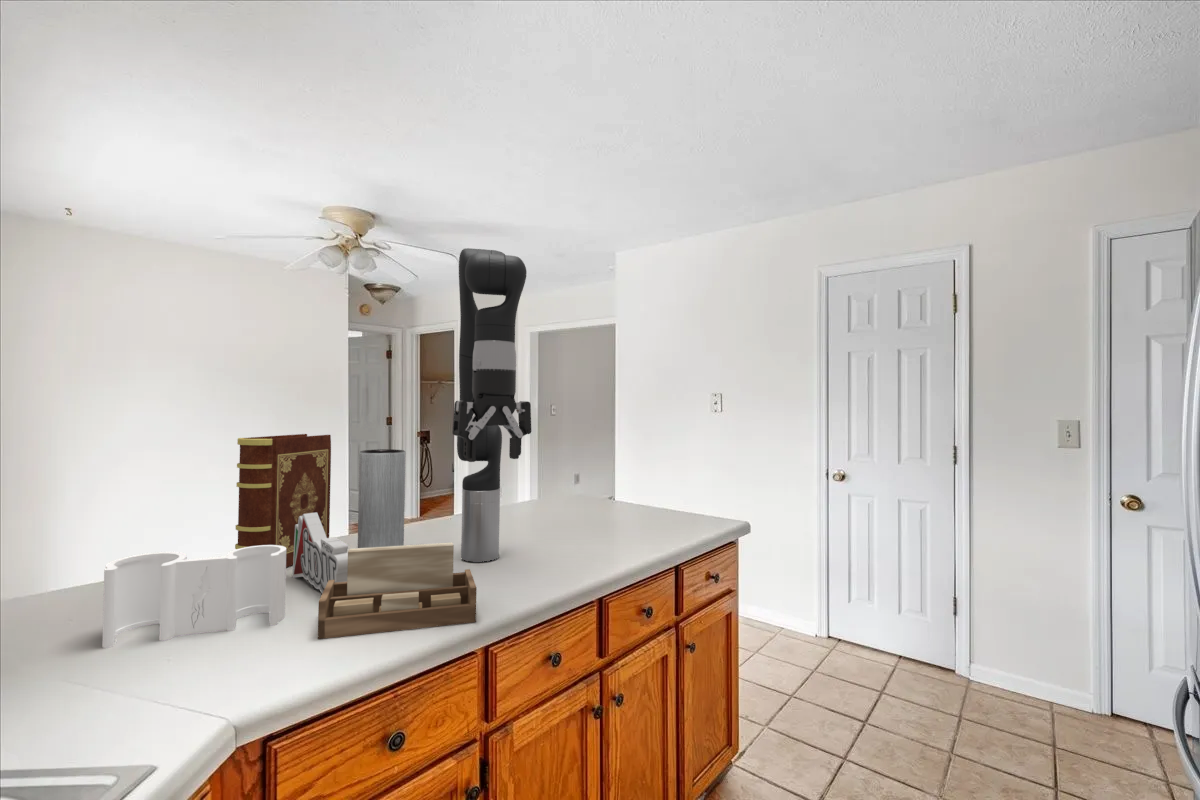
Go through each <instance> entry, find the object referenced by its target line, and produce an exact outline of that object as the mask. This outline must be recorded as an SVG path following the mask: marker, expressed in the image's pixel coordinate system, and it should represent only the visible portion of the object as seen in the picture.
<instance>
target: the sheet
mask: <svg viewBox="0 0 1200 800" xmlns="http://www.w3.org/2000/svg"><path fill="white" fill-rule="evenodd" d="M454 551H455V550H454V542H441V543H440V542H438V543H436V542H435V543H425V544H424V543H423V544H422V543H421V544H408V545H407V544H406V545H405V544H404V546H388V547H371V548H358V547H357V548H348V550H347V553H348V572H347V596H351V595H363V594H374V593H386V592H397V591H409V590H420V589H432V588H443V587H453V573H454Z"/></svg>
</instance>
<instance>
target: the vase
mask: <svg viewBox="0 0 1200 800" xmlns="http://www.w3.org/2000/svg"><path fill="white" fill-rule="evenodd" d="M406 454H407V453H406V451H405V450H404V449H389V448H388V449H381V448H380V449H365V450H360V451H359V458H358V459H359V463H358V465H359V466H358V467H359V468H358V506H357V507H358V509H357V510H358V511H357V548H371V547H388V546H404V545H405V504H406V503H405V498H406V497H405V495H406Z"/></svg>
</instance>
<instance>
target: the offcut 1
mask: <svg viewBox="0 0 1200 800" xmlns="http://www.w3.org/2000/svg"><path fill="white" fill-rule="evenodd" d="M373 607H374V598H364V599H353V600H342V601H336V602H335V604H334V607H333V617H337V616H347V615H358V614H368V613H373Z"/></svg>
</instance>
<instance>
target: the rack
mask: <svg viewBox="0 0 1200 800" xmlns="http://www.w3.org/2000/svg"><path fill="white" fill-rule="evenodd" d="M410 592H419V603H420V602H422V608H419V609H409V610H399V611H389V612H379V608H380V606H381V599H382V595H384V594H397V593H410ZM477 592H478V591H477V585H476V583H475V579H474V576H473V574H472V570H471V569H470V568H468V569H464V571H463V572H453V587H443V588H432V589H420V590H409V591H397V592H386V593H374V594H363V595H351V596H347V582H335V580H329V581H328V583H327V585H326V587H325V589H324V591H323V593H321V596H320V598H319V600H318V610H317V611H318V617H317V619H318V620H317V640H321V639H322V640H323V639H332V638H341V637H342V638H343V637H351V636H358V635H359V636H361V635H370V634H376V633H378V634H379V633H388V632H397V631H398V632H399V631H405V630H416V629H424V628H425V629H427V628H434V627H442V626H445V627H446V626H451V625H461V624H462V625H463V624H472V623H477ZM452 593H460V597H461V605H450V606H440V607H431V595H441V594H452ZM364 598H374V607H373V613H368V614H358V615H347V616H337V617H333V607H334V604H335V602H336V601H342V600H353V599H364Z"/></svg>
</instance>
